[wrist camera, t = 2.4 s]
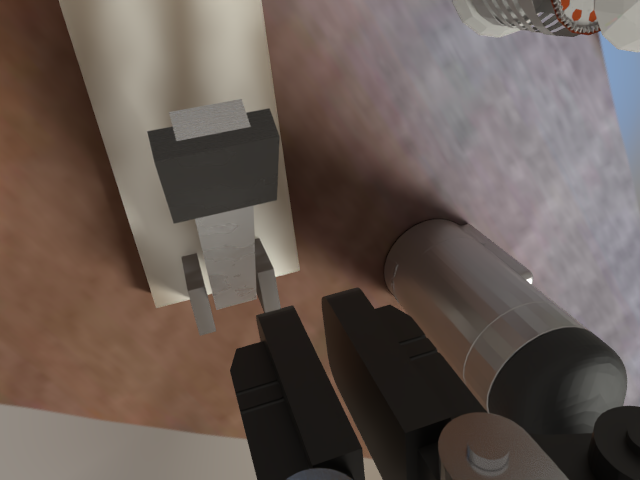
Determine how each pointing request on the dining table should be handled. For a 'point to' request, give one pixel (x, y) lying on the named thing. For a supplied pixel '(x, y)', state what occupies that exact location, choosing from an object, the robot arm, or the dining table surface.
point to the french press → (569, 8)
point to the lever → (220, 186)
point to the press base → (153, 113)
